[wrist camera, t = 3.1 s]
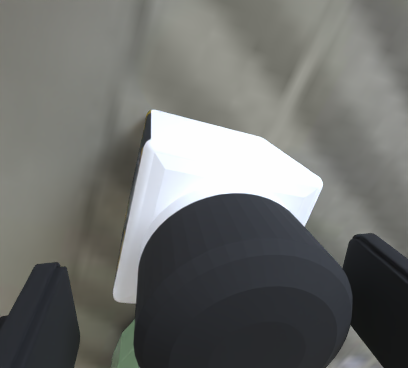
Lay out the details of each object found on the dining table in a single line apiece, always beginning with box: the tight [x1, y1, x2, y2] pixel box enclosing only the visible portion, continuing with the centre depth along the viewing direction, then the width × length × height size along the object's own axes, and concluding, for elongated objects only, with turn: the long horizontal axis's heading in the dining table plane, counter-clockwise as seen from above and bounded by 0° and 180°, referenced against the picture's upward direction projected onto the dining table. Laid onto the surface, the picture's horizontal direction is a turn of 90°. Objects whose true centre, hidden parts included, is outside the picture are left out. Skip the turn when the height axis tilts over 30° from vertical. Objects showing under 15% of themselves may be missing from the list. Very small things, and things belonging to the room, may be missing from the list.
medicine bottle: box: [113, 110, 352, 368], centre depth 13 cm, size 7×7×12 cm
